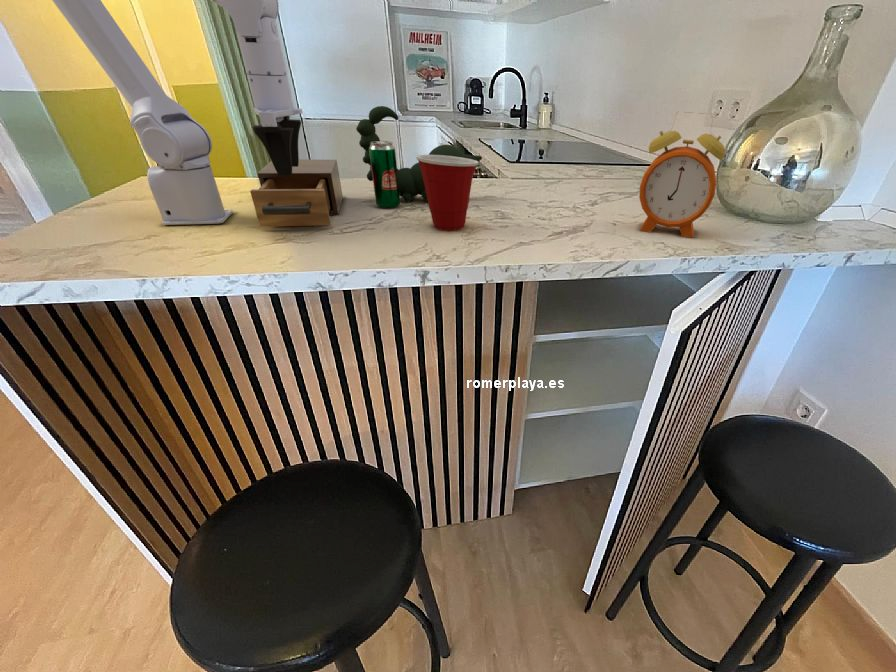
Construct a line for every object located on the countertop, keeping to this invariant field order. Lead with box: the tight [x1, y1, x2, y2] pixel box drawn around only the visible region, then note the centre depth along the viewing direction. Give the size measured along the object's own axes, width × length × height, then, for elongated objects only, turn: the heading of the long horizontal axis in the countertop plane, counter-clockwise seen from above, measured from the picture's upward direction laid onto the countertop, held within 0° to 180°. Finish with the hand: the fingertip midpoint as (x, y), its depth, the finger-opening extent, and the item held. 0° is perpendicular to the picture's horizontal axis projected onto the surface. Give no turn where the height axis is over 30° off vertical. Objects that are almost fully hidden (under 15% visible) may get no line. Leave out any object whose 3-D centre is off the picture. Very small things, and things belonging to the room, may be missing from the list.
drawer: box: [249, 178, 332, 228], centre depth 80 cm, size 18×11×6 cm, turn 14°
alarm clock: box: [638, 111, 727, 239], centre depth 82 cm, size 13×6×20 cm, turn 70°
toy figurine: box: [355, 105, 483, 203], centre depth 95 cm, size 9×19×25 cm
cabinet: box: [256, 159, 344, 216], centre depth 90 cm, size 15×13×8 cm
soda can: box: [369, 140, 401, 209], centre depth 91 cm, size 5×5×12 cm
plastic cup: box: [415, 154, 480, 232], centre depth 81 cm, size 11×11×12 cm
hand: (288, 170), depth 77 cm, fingers open, 7 cm apart
